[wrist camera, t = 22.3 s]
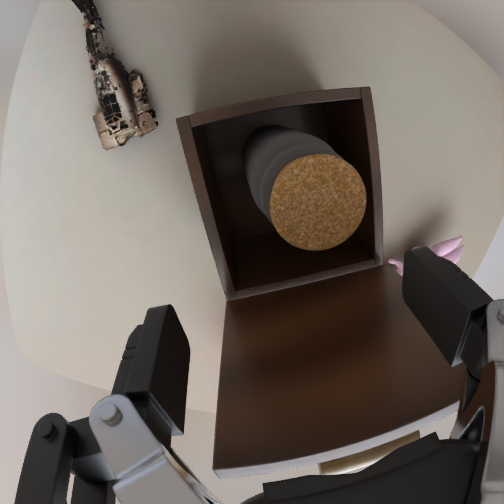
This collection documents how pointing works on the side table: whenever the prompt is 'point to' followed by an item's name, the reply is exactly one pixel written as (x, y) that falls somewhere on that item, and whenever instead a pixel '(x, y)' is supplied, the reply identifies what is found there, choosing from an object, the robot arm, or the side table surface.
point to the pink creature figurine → (438, 252)
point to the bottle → (303, 187)
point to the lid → (327, 377)
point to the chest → (243, 204)
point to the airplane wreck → (115, 89)
